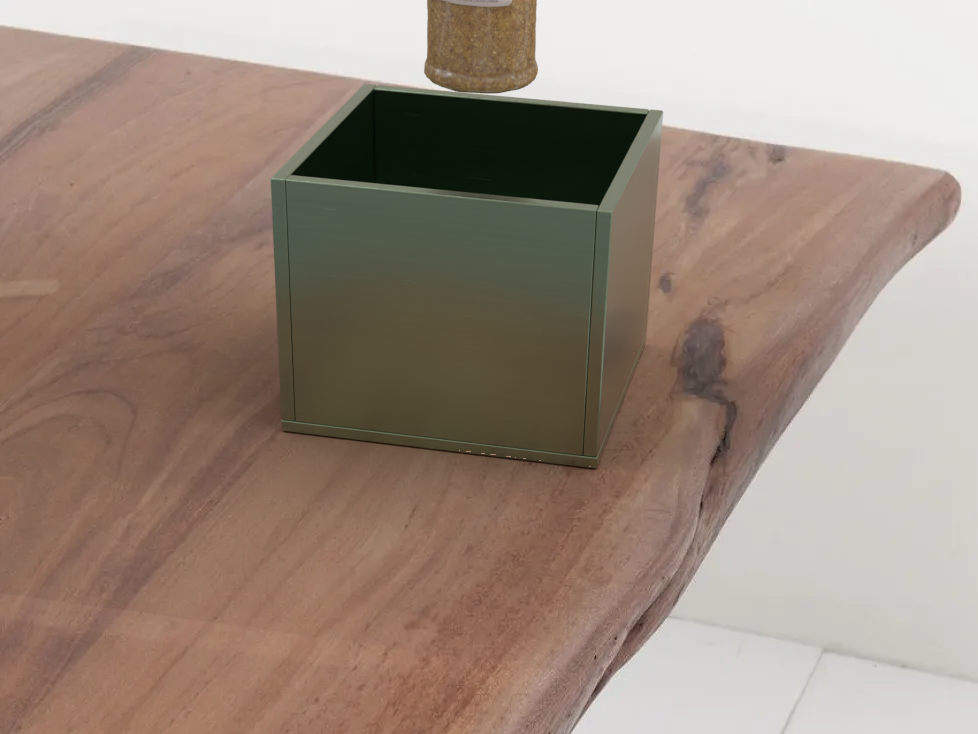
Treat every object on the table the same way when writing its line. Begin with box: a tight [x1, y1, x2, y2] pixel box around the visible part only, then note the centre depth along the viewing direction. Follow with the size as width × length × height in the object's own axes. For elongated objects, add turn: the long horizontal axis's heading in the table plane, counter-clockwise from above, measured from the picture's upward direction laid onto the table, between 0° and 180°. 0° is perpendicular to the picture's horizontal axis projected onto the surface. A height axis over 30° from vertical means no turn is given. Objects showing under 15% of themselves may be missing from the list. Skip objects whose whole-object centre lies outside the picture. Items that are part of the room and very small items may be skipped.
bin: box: [270, 83, 664, 469], centre depth 79 cm, size 13×13×10 cm
